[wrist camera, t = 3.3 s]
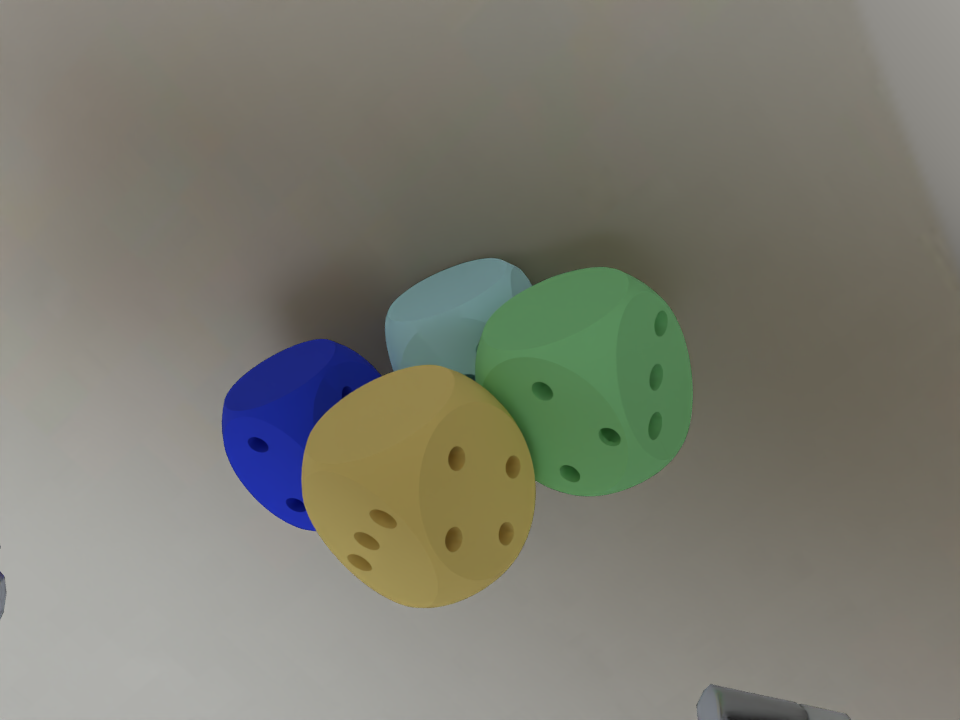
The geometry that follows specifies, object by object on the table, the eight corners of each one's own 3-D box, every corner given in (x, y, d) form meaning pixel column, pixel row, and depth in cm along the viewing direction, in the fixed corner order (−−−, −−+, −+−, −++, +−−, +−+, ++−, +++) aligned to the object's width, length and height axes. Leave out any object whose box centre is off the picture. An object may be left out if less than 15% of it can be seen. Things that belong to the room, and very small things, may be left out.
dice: (321, 437, 19) (197, 681, 13) (259, 333, 18) (96, 551, 12) (695, 325, 16) (732, 567, 11) (650, 196, 15) (666, 392, 10)
